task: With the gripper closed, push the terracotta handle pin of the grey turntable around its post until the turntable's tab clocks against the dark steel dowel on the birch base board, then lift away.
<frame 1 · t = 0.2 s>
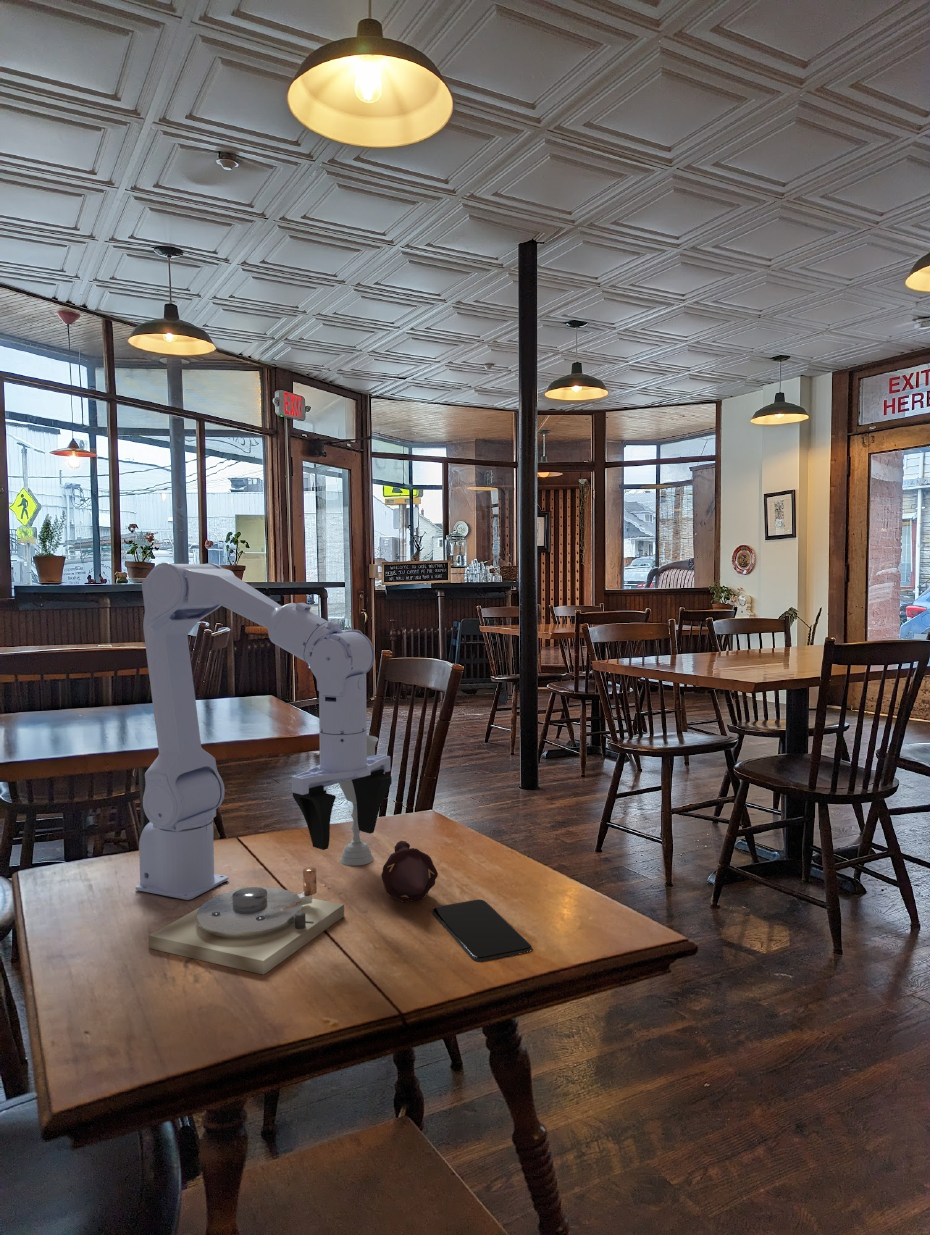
hand: (344, 839, 100), 10 cm above the table, fingers open, 7 cm apart
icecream: (409, 900, 106), on the table
grey turntable: (259, 896, 97), point 4 cm above the table, hinge at 40.0°
chalice: (356, 860, 121), on the table
post base: (250, 931, 97), on the table
smartphone: (479, 934, 97), on the table
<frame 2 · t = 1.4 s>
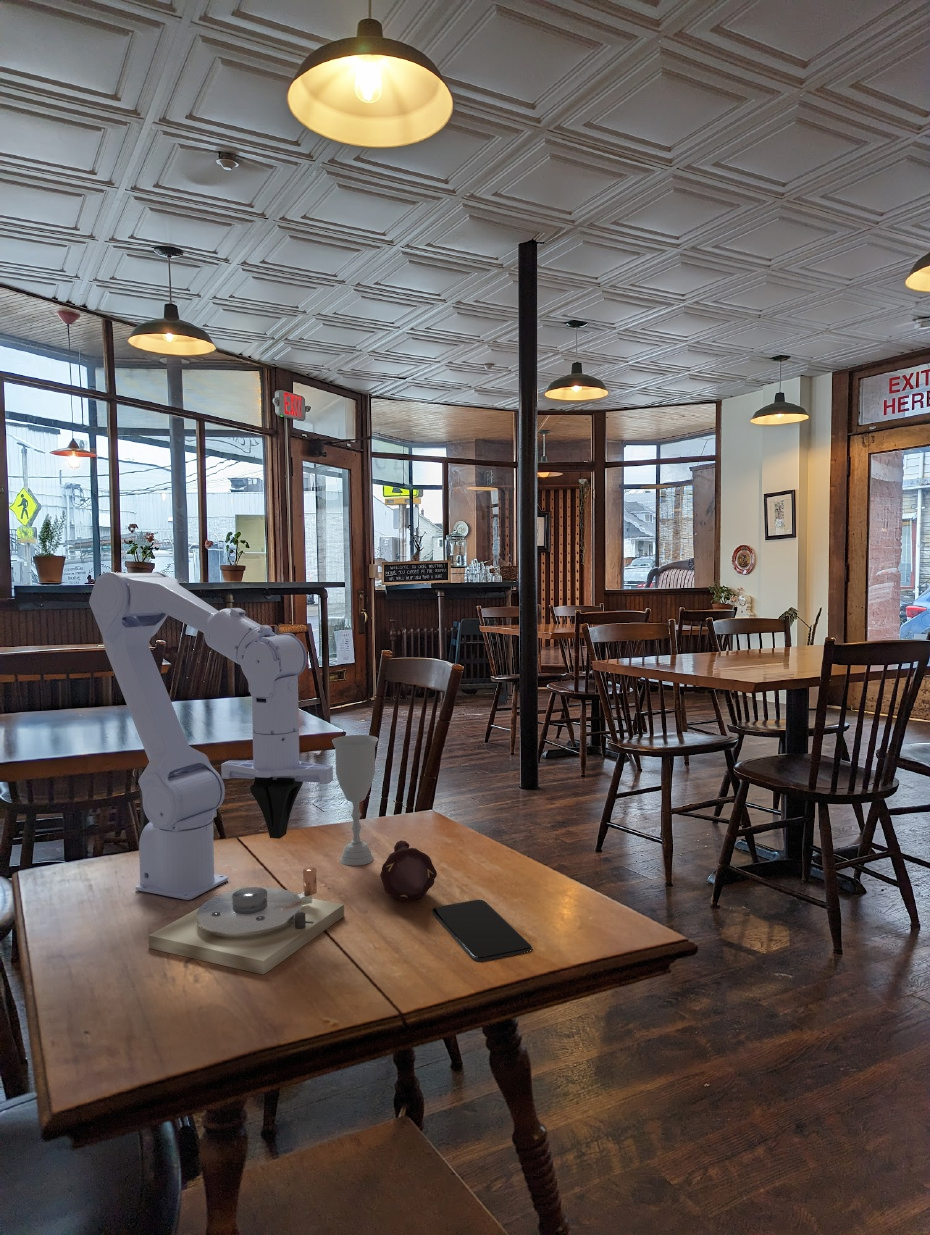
hand: (278, 836, 104), 9 cm above the table, fingers closed
nothing on the table moved.
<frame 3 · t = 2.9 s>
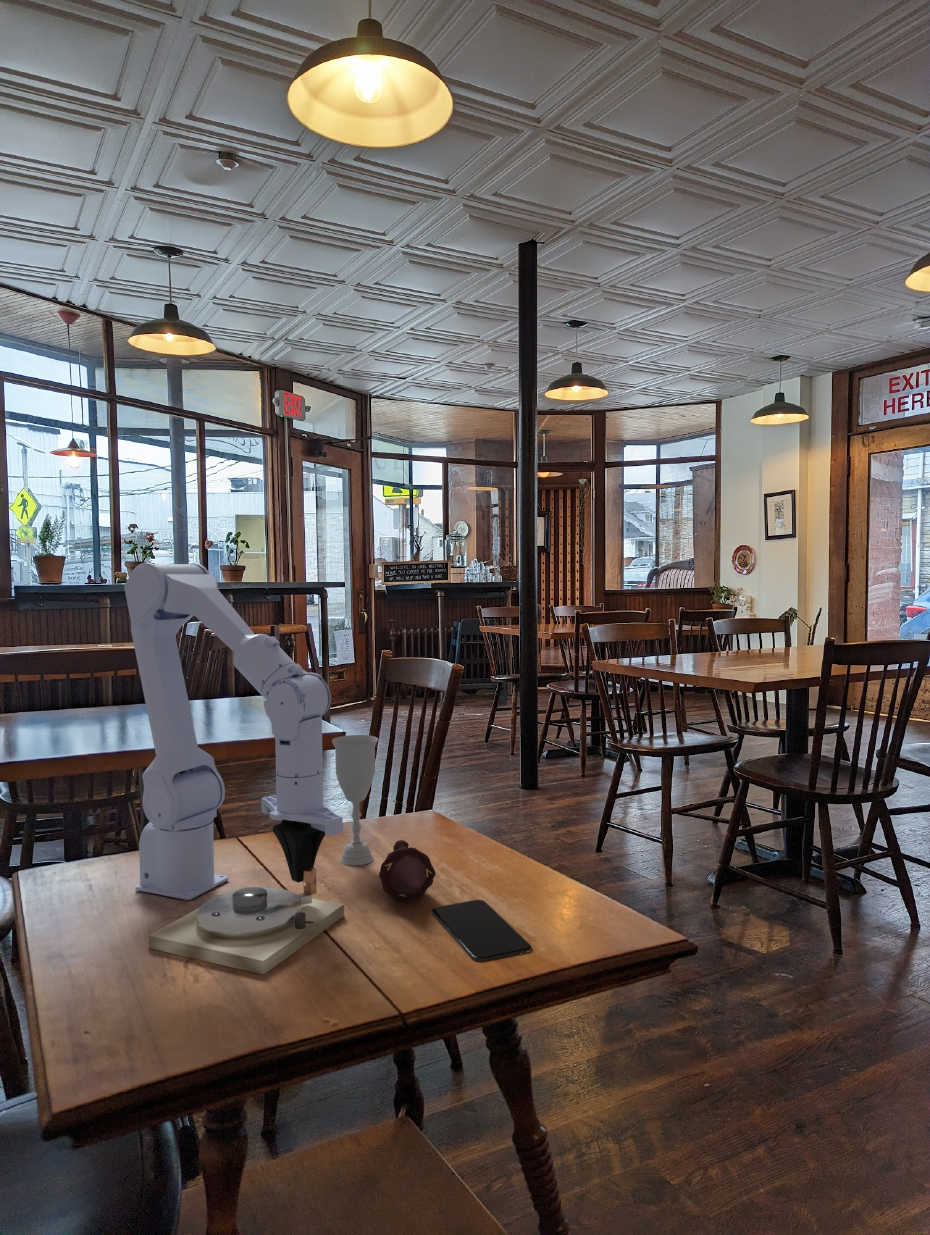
hand: (301, 879, 102), 4 cm above the table, fingers closed, pressing on grey turntable
grey turntable: (259, 896, 97), point 4 cm above the table, hinge at 40.0°, touching gripper
everything else where it was.
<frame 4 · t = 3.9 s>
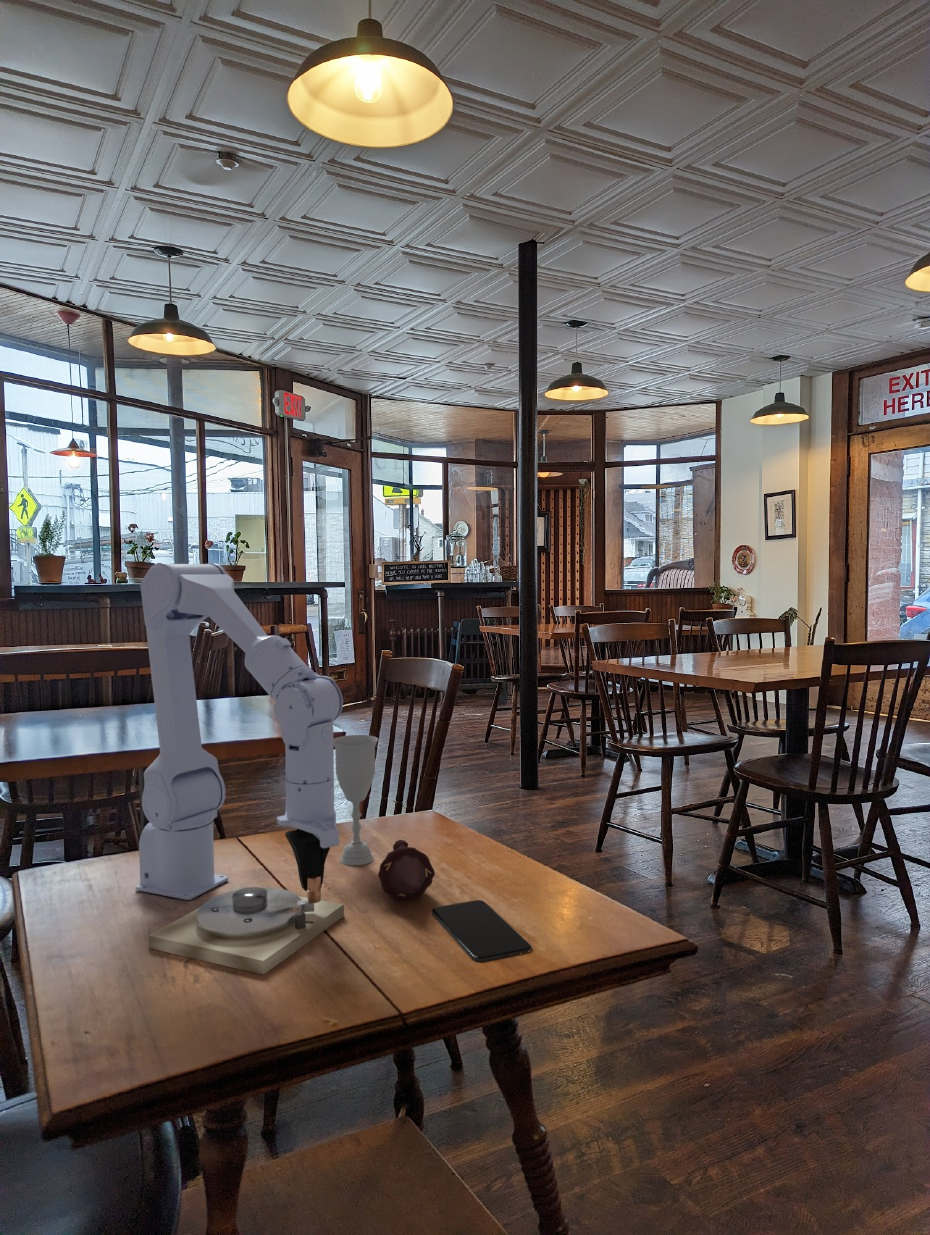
hand: (311, 888, 99), 4 cm above the table, fingers closed, pressing on grey turntable
grey turntable: (259, 897, 97), point 4 cm above the table, hinge at 19.7°, touching gripper
everything else where it was.
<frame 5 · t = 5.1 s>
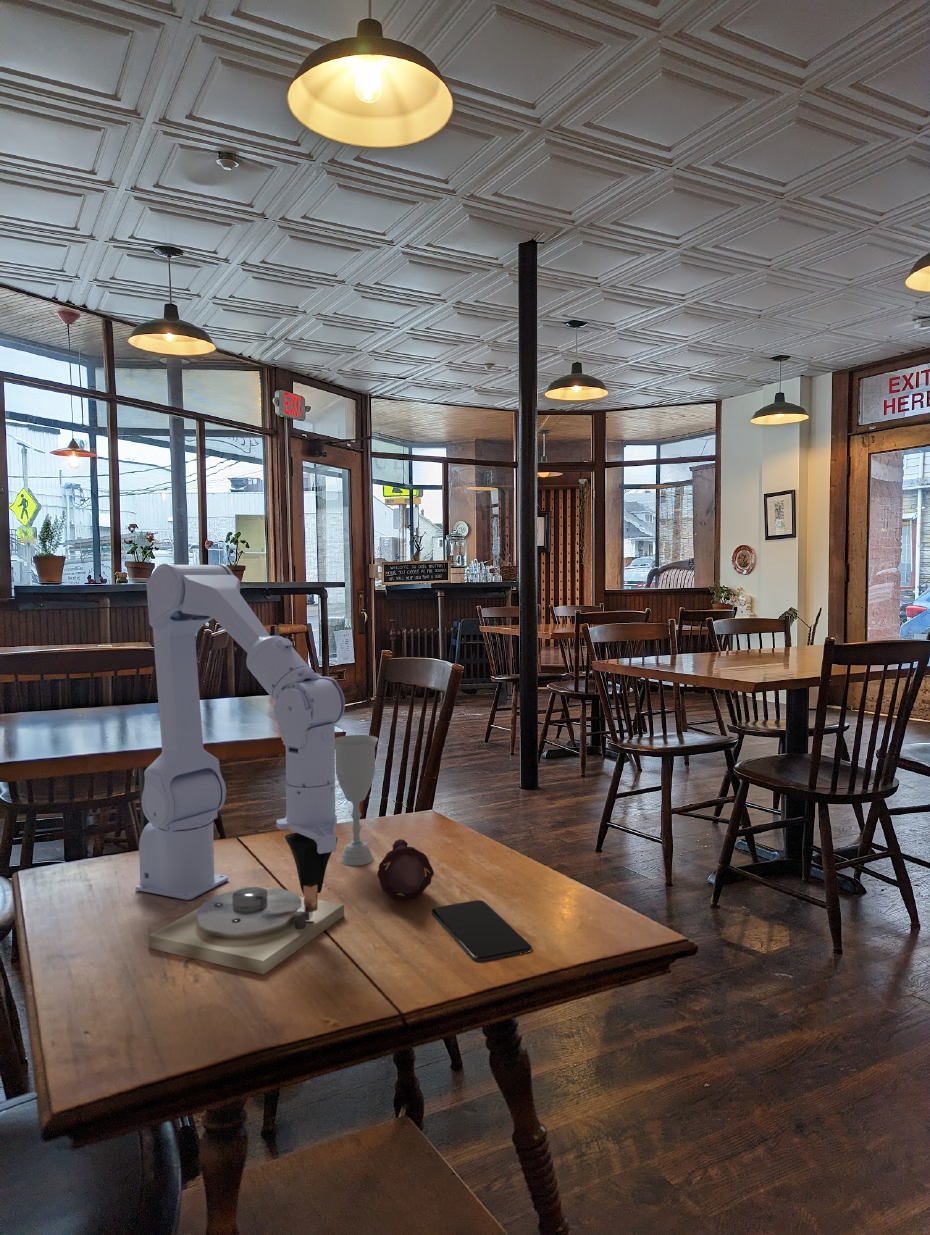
hand: (311, 893, 97), 4 cm above the table, fingers closed
grey turntable: (259, 899, 96), point 4 cm above the table, hinge at 0.4°, touching gripper
everything else where it was.
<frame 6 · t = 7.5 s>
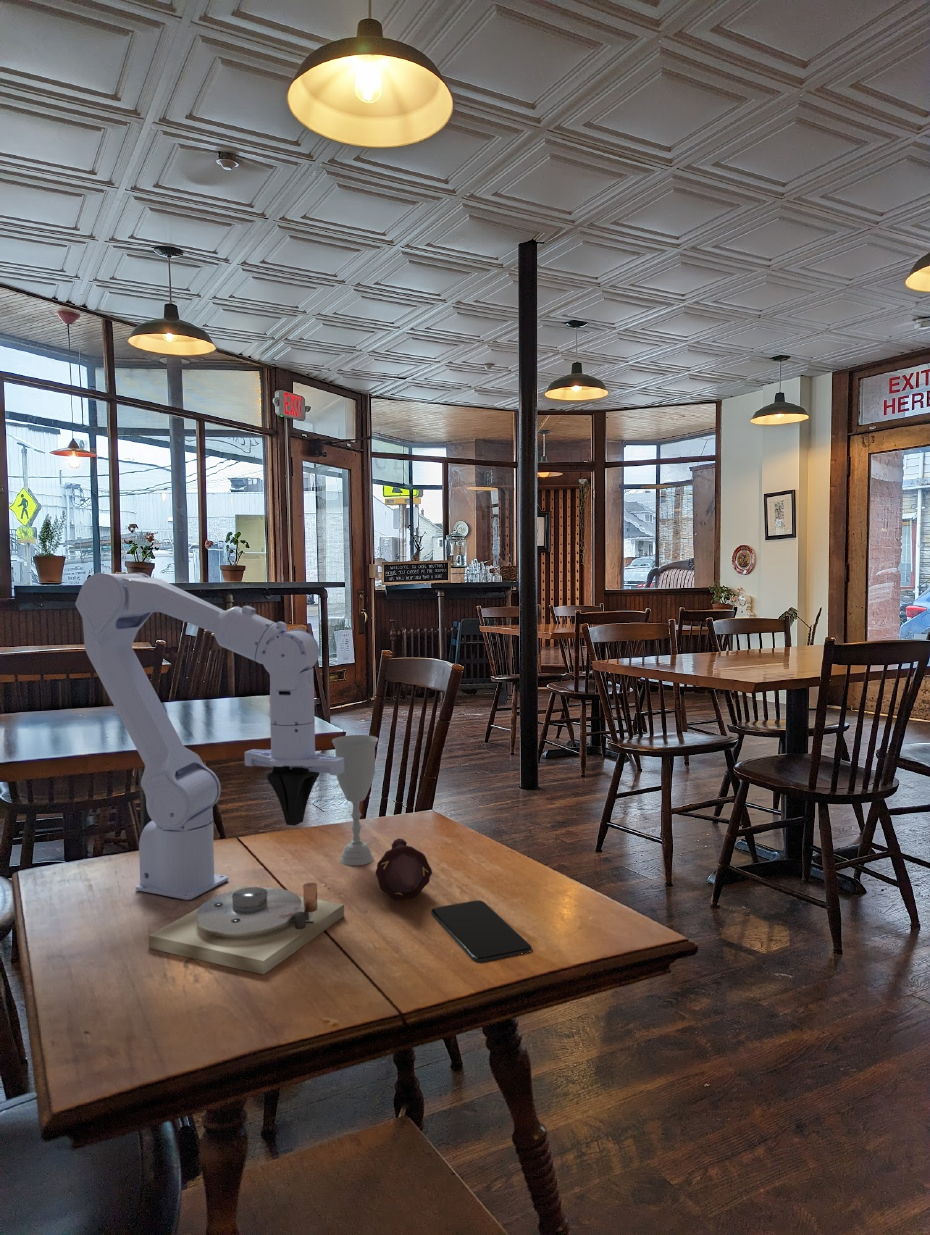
hand: (294, 823, 108), 9 cm above the table, fingers closed
grey turntable: (259, 899, 96), point 4 cm above the table, hinge at -0.2°
at the end: grey turntable at +0° (first picture: +40°) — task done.
